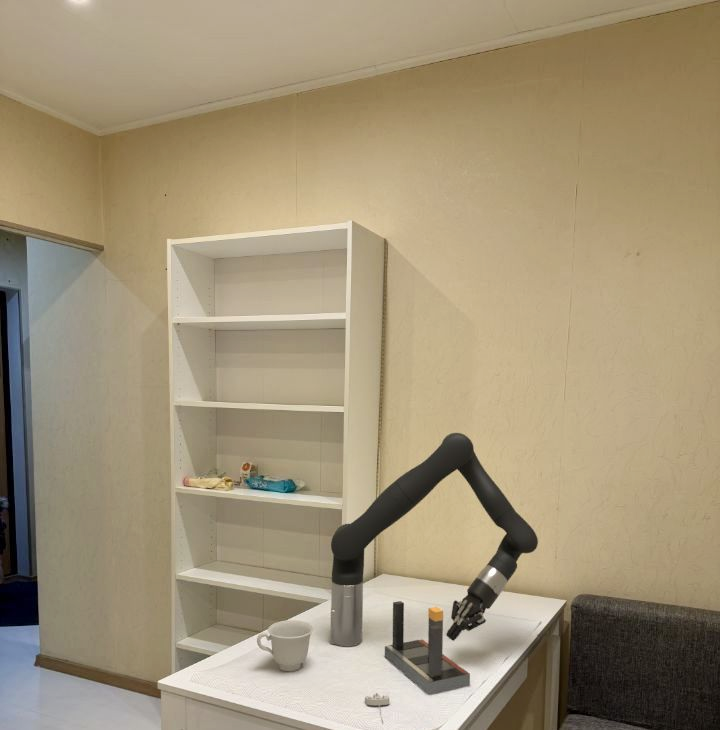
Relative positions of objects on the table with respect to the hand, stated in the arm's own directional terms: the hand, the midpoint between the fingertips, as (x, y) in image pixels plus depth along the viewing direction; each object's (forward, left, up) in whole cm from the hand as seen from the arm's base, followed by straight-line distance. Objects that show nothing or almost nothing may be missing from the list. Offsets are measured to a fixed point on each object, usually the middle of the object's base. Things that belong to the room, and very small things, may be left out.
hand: (449, 638), depth 168 cm
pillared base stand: (-7, -3, -7) cm, 11 cm away
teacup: (-44, -2, -8) cm, 45 cm away
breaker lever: (-4, -2, -4) cm, 6 cm away
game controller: (-20, -23, -8) cm, 32 cm away
